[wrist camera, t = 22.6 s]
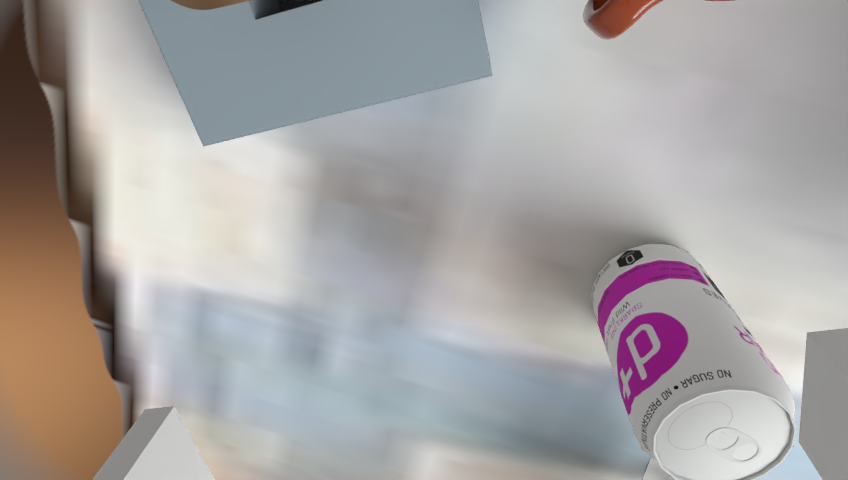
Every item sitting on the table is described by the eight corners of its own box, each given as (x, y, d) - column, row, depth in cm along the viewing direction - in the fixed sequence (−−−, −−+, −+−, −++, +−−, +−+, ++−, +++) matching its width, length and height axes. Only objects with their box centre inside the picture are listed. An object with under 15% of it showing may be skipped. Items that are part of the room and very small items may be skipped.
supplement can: (567, 300, 43) (608, 454, 30) (639, 219, 40) (722, 353, 27) (649, 348, 45) (723, 515, 32) (726, 274, 41) (846, 427, 28)
